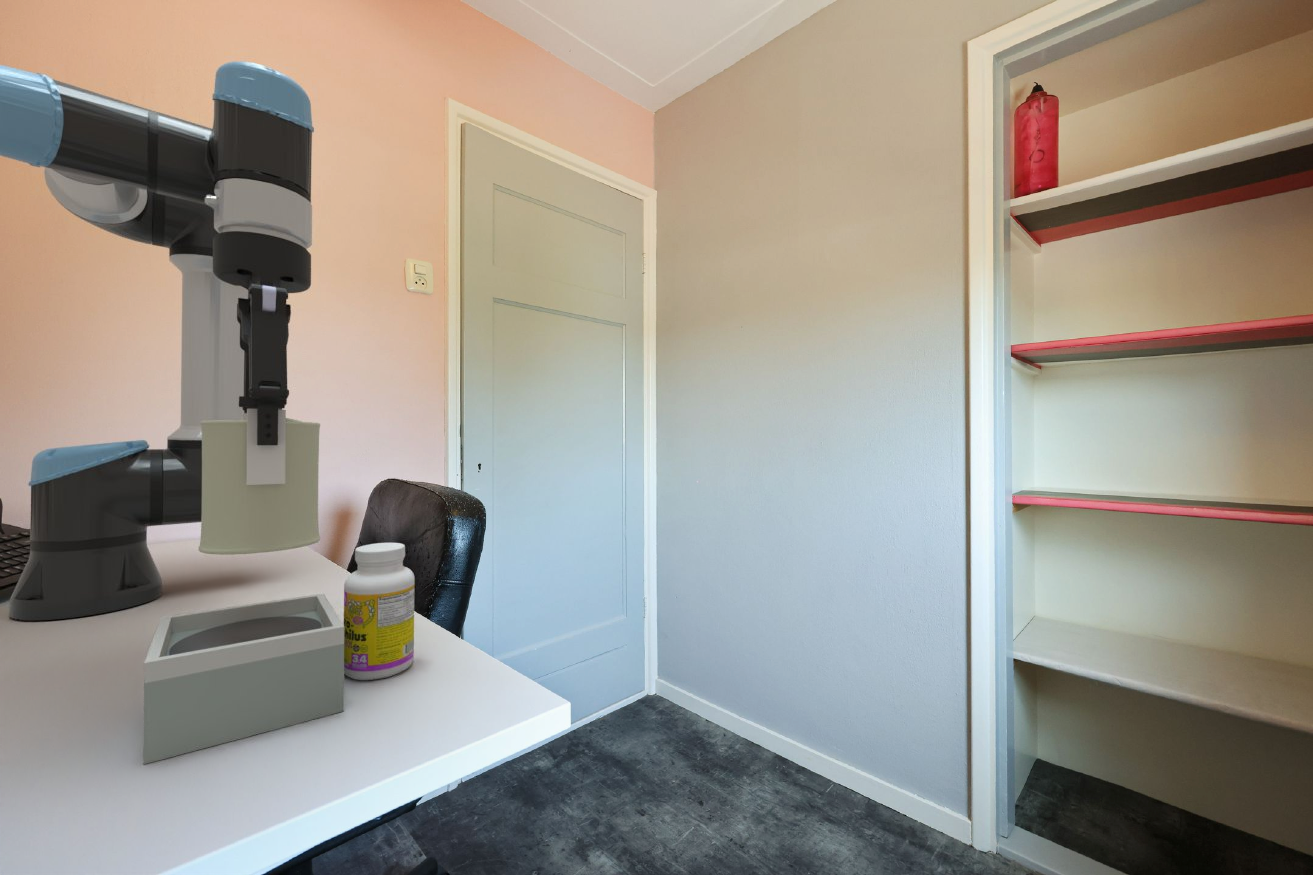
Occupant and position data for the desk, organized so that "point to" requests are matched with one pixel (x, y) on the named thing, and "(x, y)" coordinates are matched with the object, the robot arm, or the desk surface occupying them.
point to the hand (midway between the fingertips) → (262, 480)
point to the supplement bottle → (378, 613)
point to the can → (257, 492)
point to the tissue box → (240, 673)
